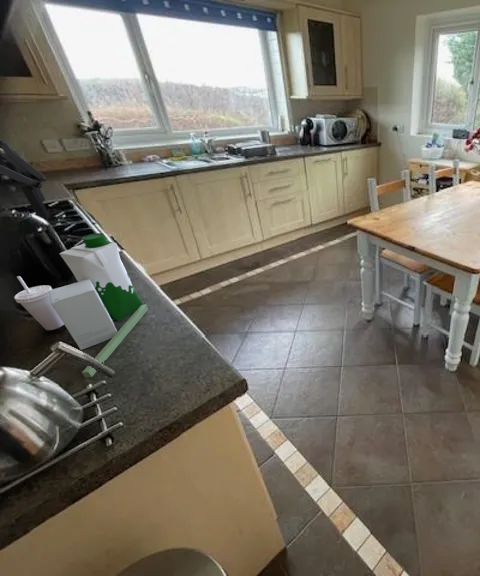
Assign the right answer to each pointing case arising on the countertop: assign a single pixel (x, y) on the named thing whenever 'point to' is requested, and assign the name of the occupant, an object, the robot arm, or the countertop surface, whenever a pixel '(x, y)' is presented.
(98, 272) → the soya milk
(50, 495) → the countertop surface
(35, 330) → the countertop surface
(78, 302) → the white packaging box
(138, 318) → the straightedge
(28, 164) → the robot arm
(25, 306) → the smoothie
